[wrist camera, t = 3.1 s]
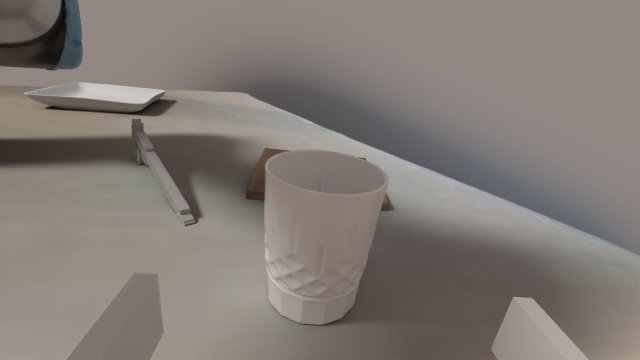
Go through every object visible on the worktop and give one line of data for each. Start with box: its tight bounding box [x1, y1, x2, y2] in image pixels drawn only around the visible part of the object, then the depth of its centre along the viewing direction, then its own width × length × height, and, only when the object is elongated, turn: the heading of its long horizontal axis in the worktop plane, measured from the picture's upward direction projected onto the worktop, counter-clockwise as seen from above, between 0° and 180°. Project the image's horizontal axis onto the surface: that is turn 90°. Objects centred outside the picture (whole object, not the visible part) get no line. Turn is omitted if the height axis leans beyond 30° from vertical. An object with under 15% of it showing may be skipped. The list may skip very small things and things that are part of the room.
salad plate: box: [24, 82, 166, 113], centre depth 72 cm, size 21×21×3 cm
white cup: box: [264, 150, 389, 325], centre depth 22 cm, size 8×8×10 cm
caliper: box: [132, 119, 195, 226], centre depth 36 cm, size 20×1×6 cm, turn 40°
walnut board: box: [246, 148, 389, 211], centre depth 45 cm, size 17×17×1 cm
